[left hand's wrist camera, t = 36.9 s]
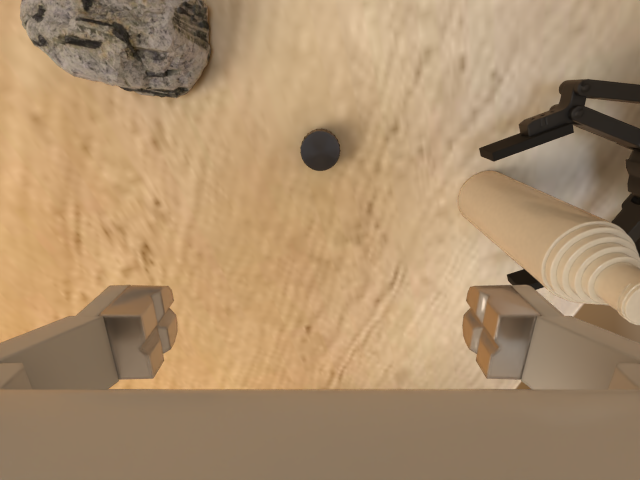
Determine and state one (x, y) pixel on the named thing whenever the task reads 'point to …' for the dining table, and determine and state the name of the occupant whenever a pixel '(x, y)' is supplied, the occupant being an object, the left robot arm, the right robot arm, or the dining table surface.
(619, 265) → the bottle
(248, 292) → the dining table surface
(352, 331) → the dining table surface
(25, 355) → the left robot arm
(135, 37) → the rock
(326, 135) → the cap
